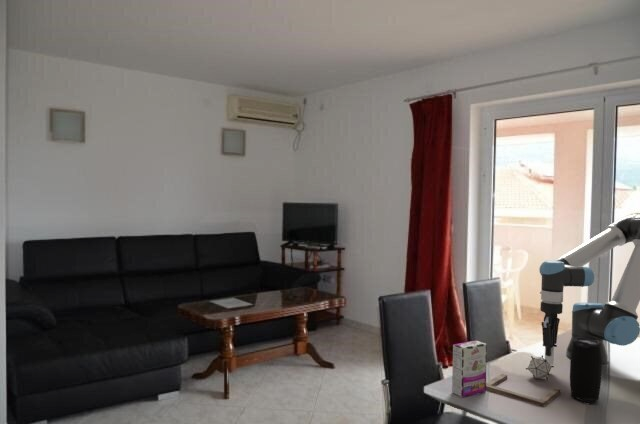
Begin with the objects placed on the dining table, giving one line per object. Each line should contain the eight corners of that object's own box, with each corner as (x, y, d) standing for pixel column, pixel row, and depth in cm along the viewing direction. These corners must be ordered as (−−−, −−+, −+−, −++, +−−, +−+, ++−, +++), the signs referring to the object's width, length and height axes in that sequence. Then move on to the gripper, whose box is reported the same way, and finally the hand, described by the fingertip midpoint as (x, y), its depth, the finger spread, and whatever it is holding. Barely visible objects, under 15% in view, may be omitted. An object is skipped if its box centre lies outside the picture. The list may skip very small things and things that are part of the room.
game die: (544, 390, 174) (558, 374, 168) (521, 379, 176) (534, 363, 170) (544, 371, 181) (557, 355, 175) (522, 361, 183) (534, 345, 177)
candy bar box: (474, 387, 165) (476, 339, 165) (486, 392, 161) (488, 343, 161) (450, 392, 160) (452, 343, 160) (461, 398, 156) (463, 347, 155)
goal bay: (501, 377, 176) (501, 373, 176) (560, 393, 162) (560, 389, 162) (482, 388, 164) (482, 384, 164) (543, 406, 151) (543, 403, 151)
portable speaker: (604, 400, 157) (607, 341, 156) (591, 407, 151) (594, 345, 151) (577, 391, 164) (580, 334, 163) (563, 398, 158) (566, 338, 158)
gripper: (547, 298, 190) (544, 357, 190) (535, 302, 180) (532, 364, 181) (567, 301, 185) (565, 362, 185) (556, 305, 175) (553, 370, 176)
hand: (548, 363), depth 183 cm, fingers closed
